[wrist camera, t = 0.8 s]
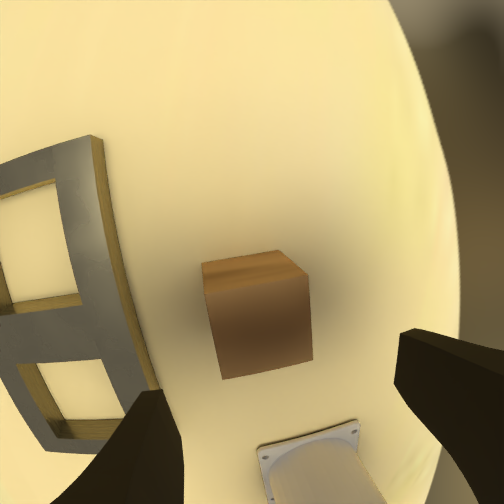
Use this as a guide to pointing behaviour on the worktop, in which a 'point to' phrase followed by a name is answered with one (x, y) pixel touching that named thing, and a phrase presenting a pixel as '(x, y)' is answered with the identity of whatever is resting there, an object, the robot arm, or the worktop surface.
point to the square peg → (258, 313)
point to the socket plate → (73, 301)
